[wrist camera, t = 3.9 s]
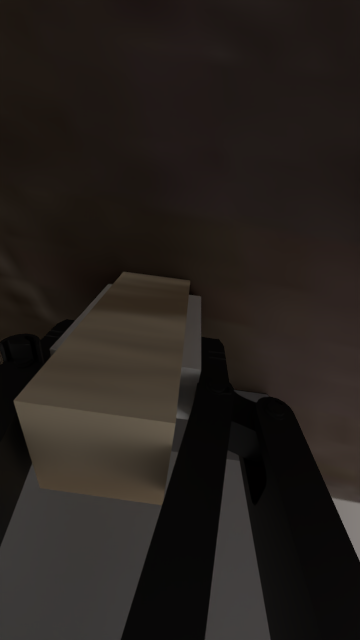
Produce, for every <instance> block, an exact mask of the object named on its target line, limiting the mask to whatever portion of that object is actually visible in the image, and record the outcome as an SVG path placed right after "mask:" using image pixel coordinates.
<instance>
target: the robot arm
mask: <svg viewBox="0 0 360 640" xmlns="http://www.w3.org/2000/svg"><path fill="white" fill-rule="evenodd" d="M112 285H113V284H108V285H107V286H106V287H105V288H104V289H103V290H102V291H101V293H100V294H99V295H98V296H97V297H96V298H95V299H94V300H93V301H92V303H91V304H90V305H89V306H88V307H87V308H86V309H85V310H84V311H83V312H82V314H81V315H80V316H79V317H78V318H77V319H76V320H68V319H66V320H64V321H62V322H60V323H58V324H57V325H56V326H55V327H54V328H53V329H51V331H49V332H48V333H47V334H46V336H44V337H43V338H42V339H41V340H40V339H39V338H38V337H37V336H35V335H32V334H18V335H14V336H10V337H8V338H6V339H4V340H2V341H1V342H0V351H1V354H2V357H3V361H4V363H3V364H2V365H0V546H1V544H2V541H3V539H4V536H5V533H6V531H7V528H8V525H9V523H10V520H11V518H12V515H13V512H14V510H15V507H16V504H17V502H18V499H19V497H20V494H21V491H22V489H23V486H24V483H25V481H26V478H27V476H28V473H29V470H30V468H31V465H32V461H31V457H30V454H29V451H28V447H27V444H26V441H25V438H24V434H23V431H22V428H21V424H20V421H19V418H18V415H17V411H16V408H15V405H14V400H15V398H16V397H17V396H18V395H19V394H20V392H21V391H22V390H23V389H24V388H25V387H26V385H27V384H28V383H29V382H30V381H31V380H32V378H33V377H34V376H35V375H36V374H37V373H38V371H39V370H40V369H41V368H42V367H43V366H44V364H45V363H46V362H47V361H48V360H49V358H50V357H51V356H52V355H53V354H54V353H55V351H56V350H57V349H58V348H59V347H60V346H61V344H62V343H63V342H64V341H65V340H66V339H67V337H68V336H69V335H70V334H71V333H72V332H73V330H74V329H75V328H76V327H77V326H78V325H79V323H80V322H81V321H82V320H83V319H84V317H85V316H86V315H87V314H88V313H89V312H90V310H91V309H92V308H93V307H94V306H95V305H96V303H97V302H98V301H99V300H100V299H101V298H102V296H103V295H104V294H105V293H106V292H107V291H108V289H109V288H110V287H111V286H112ZM225 359H226V358H225V351H224V346H223V344H222V343H221V342H220V340H219V339H212V338H205V337H201V296H195V295H189V298H188V308H187V318H186V328H185V337H184V347H183V357H182V366H181V376H180V386H179V395H178V405H177V415H176V418H179V419H186V420H188V422H187V426H186V429H185V432H184V435H183V439H182V442H181V445H180V448H179V452H178V455H177V458H176V461H175V465H174V468H173V471H172V474H171V478H170V481H169V484H168V487H167V491H166V494H165V497H164V500H163V504H162V507H161V510H160V513H159V517H158V520H157V523H156V526H155V530H154V533H153V536H152V539H151V543H150V546H149V549H148V552H147V556H146V559H145V562H144V565H143V569H142V572H141V575H140V578H139V582H138V585H137V588H136V591H135V595H134V598H133V601H132V604H131V608H130V611H129V614H128V617H127V621H126V624H125V627H124V630H123V634H122V637H121V640H205V634H206V626H207V618H208V610H209V601H210V593H211V585H212V576H213V568H214V560H215V552H216V543H217V535H218V527H219V518H220V510H221V502H222V494H223V485H224V477H225V469H226V460H227V452H228V451H230V452H232V453H235V454H237V455H239V461H240V467H241V473H242V478H243V484H244V490H245V496H246V501H247V507H248V513H249V518H250V524H251V530H252V536H253V541H254V547H255V553H256V559H257V564H258V570H259V576H260V582H261V587H262V593H263V599H264V605H265V610H266V616H267V622H268V628H269V633H270V639H271V640H360V561H359V559H358V557H357V554H356V552H355V550H354V548H353V545H352V543H351V541H350V539H349V537H348V534H347V532H346V530H345V527H344V525H343V523H342V521H341V518H340V516H339V514H338V512H337V509H336V507H335V505H334V503H333V500H332V498H331V496H330V493H329V491H328V489H327V487H326V484H325V482H324V480H323V478H322V475H321V473H320V471H319V469H318V466H317V464H316V462H315V460H314V457H313V455H312V453H311V451H310V448H309V446H308V444H307V442H306V439H305V437H304V435H303V433H302V430H301V428H300V426H299V424H298V421H297V419H296V417H295V415H294V413H293V411H292V410H291V408H290V407H289V406H288V405H287V404H286V403H284V402H283V401H281V400H279V399H277V398H273V397H262V398H260V399H258V401H257V403H256V402H254V401H251V400H249V399H246V398H244V397H242V396H240V395H239V394H237V393H236V392H235V391H234V388H233V387H232V385H231V384H230V383H229V379H228V372H227V365H226V360H225Z"/></svg>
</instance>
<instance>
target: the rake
mask: <svg viewBox="0 0 360 640" xmlns="http://www.w3.org/2000/svg"><path fill="white" fill-rule="evenodd" d="M189 289H190V280H182V279H175V278H168V277H160V276H153V275H145V274H138V273H130V272H123V273H122V274H121V275H120V276H119V278H118V279H117V280H116V281H115V282H114V283H113V285H112V286H111V287H110V288H109V289H108V291H107V292H106V293H105V294H104V295H103V296H102V298H101V299H100V300H99V301H98V302H97V303H96V305H95V306H94V307H93V308H92V309H91V310H90V312H89V313H88V314H87V315H86V316H85V317H84V319H83V320H82V321H81V322H80V323H79V325H78V326H77V327H76V328H75V329H74V330H73V332H72V333H71V334H70V335H69V336H68V337H67V339H66V340H65V341H64V342H63V343H62V344H61V346H60V347H59V348H58V349H57V350H56V351H55V353H54V354H53V355H52V356H51V357H50V358H49V360H48V361H47V362H46V363H45V364H44V366H43V367H42V368H41V369H40V370H39V371H38V373H37V374H36V375H35V376H34V377H33V378H32V380H31V381H30V382H29V383H28V384H27V385H26V387H25V388H24V389H23V390H22V391H21V392H20V394H19V395H18V396H17V397H16V398H15V400H14V405H15V408H16V411H17V415H18V418H19V421H20V424H21V428H22V431H23V434H24V438H25V441H26V444H27V447H28V451H29V454H30V457H31V461H32V464H33V467H34V470H35V474H36V477H37V480H38V483H39V487H40V488H43V489H50V490H57V491H64V492H71V493H78V494H85V495H92V496H100V497H107V498H114V499H121V500H128V501H135V502H142V503H149V504H156V505H162V504H163V499H164V493H165V487H166V480H167V474H168V468H169V462H170V455H171V449H172V443H173V437H174V430H175V424H176V415H177V405H178V395H179V386H180V376H181V366H182V357H183V347H184V337H185V328H186V318H187V308H188V298H189Z"/></svg>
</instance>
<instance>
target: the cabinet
mask: <svg viewBox="0 0 360 640" xmlns="http://www.w3.org/2000/svg"><path fill="white" fill-rule="evenodd" d="M234 391H235V392H236V393H237V394H239V395H240V396H242V397H244V398H246V399H249V400H251V401H254V402H256V403H257V401H258V399H260V398H262V397H269V396H268V395H267V394H260V393H253V392H246V391H238V390H234ZM187 422H188V420H186V419H179V418H176V424H175V430H174V437H173V443H172V449H171V455H170V462H169V468H168V474H167V480H166V487H165V493H164V497H165V494H166V491H167V487H168V484H169V481H170V478H171V474H172V471H173V468H174V465H175V461H176V458H177V455H178V452H179V448H180V445H181V442H182V439H183V435H184V432H185V429H186V426H187ZM163 500H164V499H163ZM161 507H162V505H156V504H149V503H142V502H135V501H128V500H121V499H114V498H107V497H100V496H92V495H85V494H78V493H71V492H64V491H57V490H50V489H43V488H40V487H39V483H38V480H37V477H36V474H35V470H34V467H33V464H32V465H31V468H30V470H29V473H28V476H27V478H26V481H25V483H24V486H23V489H22V491H21V494H20V497H19V499H18V502H17V504H16V507H15V510H14V512H13V515H12V518H11V520H10V523H9V525H8V528H7V531H6V533H5V536H4V539H3V541H2V544H1V546H0V640H121V637H122V634H123V630H124V627H125V624H126V621H127V617H128V614H129V611H130V608H131V604H132V601H133V598H134V595H135V591H136V588H137V585H138V582H139V578H140V575H141V572H142V569H143V565H144V562H145V559H146V556H147V552H148V549H149V546H150V543H151V539H152V536H153V533H154V530H155V526H156V523H157V520H158V517H159V513H160V510H161ZM205 640H271V639H270V633H269V628H268V622H267V616H266V610H265V605H264V599H263V593H262V587H261V582H260V576H259V570H258V564H257V559H256V553H255V547H254V541H253V536H252V530H251V524H250V518H249V513H248V507H247V501H246V496H245V490H244V484H243V478H242V473H241V467H240V461H239V455H237V454H235V453H232V452H230V451H228V452H227V460H226V469H225V477H224V485H223V494H222V502H221V510H220V518H219V527H218V535H217V543H216V552H215V560H214V568H213V576H212V585H211V593H210V601H209V610H208V618H207V626H206V634H205Z"/></svg>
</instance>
